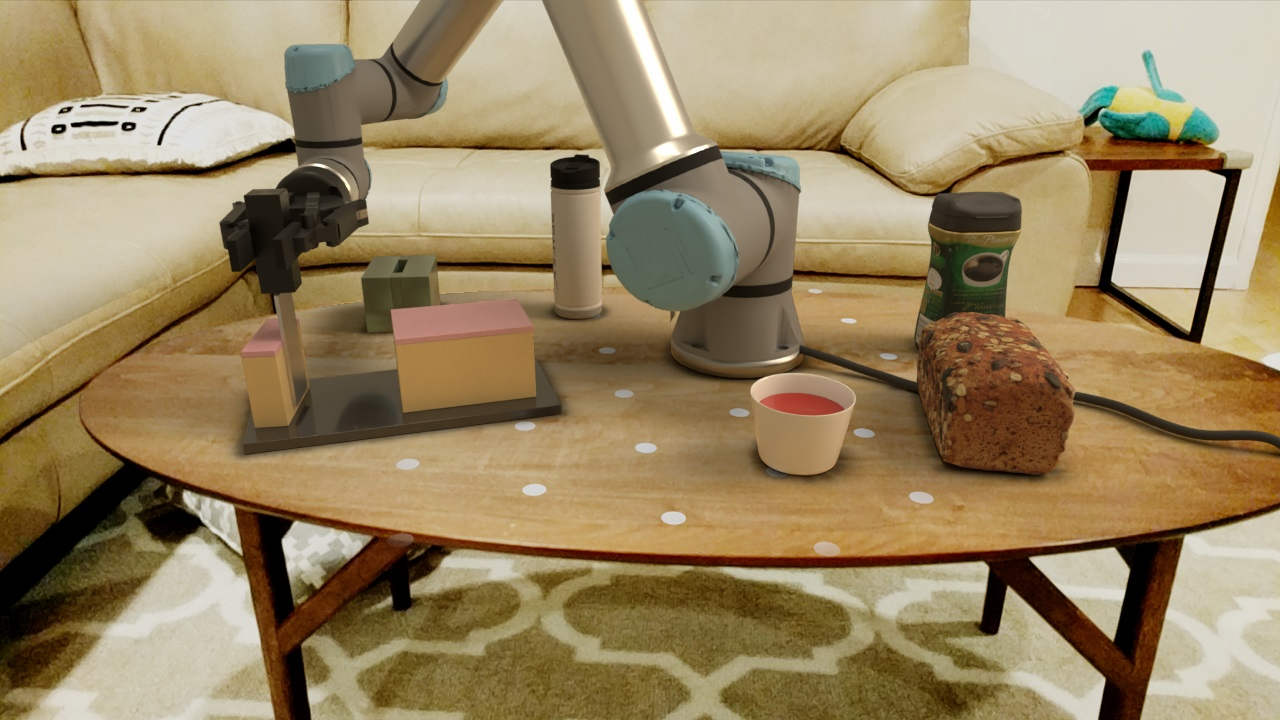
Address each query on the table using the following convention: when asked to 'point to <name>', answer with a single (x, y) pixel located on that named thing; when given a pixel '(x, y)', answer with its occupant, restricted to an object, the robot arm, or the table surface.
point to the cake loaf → (463, 354)
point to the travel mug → (576, 236)
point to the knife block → (398, 287)
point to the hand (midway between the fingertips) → (256, 255)
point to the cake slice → (269, 377)
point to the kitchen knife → (277, 275)
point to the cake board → (383, 412)
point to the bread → (993, 394)
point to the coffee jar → (969, 254)
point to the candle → (800, 421)
